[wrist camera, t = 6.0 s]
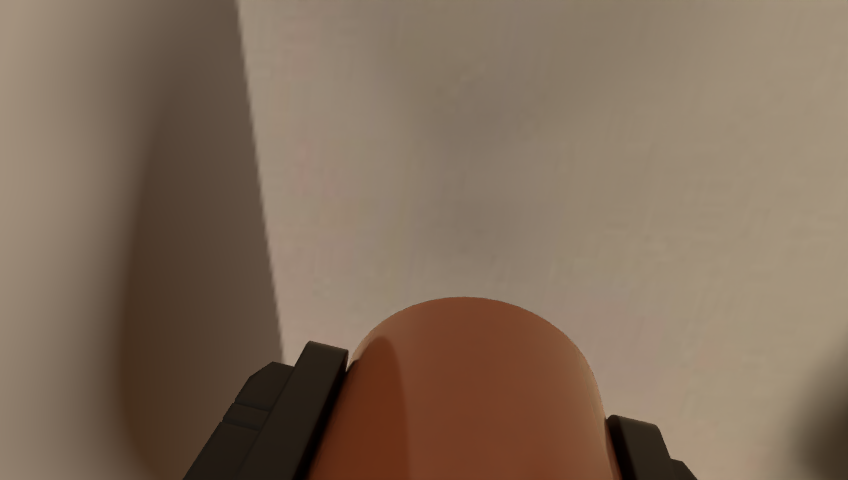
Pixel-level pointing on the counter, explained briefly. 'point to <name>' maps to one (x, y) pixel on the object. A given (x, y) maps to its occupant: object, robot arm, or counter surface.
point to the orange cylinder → (466, 401)
